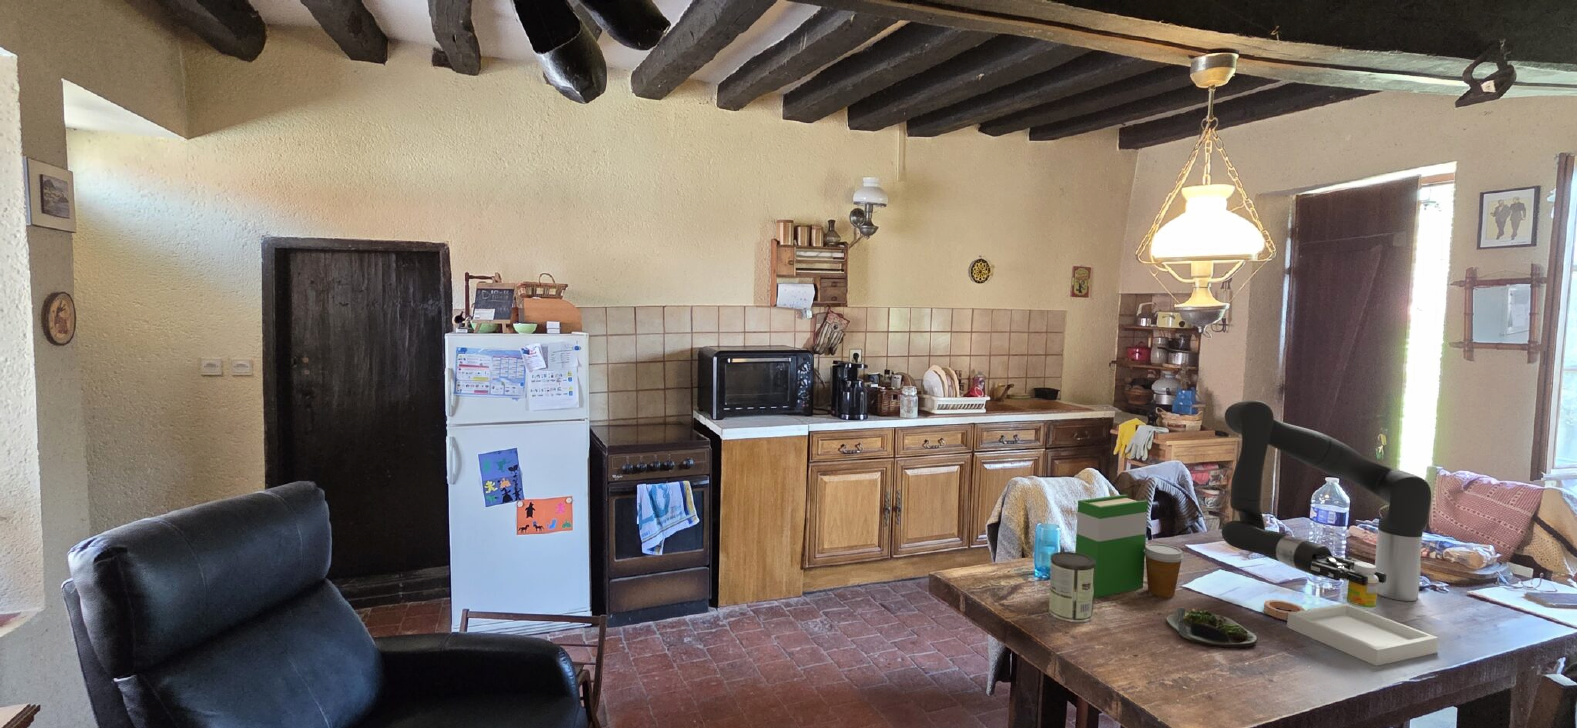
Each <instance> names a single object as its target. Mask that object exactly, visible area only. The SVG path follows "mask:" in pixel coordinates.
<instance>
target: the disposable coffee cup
mask: <svg viewBox="0 0 1577 728" xmlns="http://www.w3.org/2000/svg"><path fill="white" fill-rule="evenodd" d="M1144 553H1145V566H1146V567H1145V568H1146V582H1147V591H1148V593H1150V594H1151V595H1154V596H1156V597H1160V598H1172V597H1175V593H1176V589H1177V584H1178V578H1179V575H1180V574H1179V573H1180V570H1181V569H1180V568H1181V564H1182V561H1183V559H1184V558H1185V557H1184V556H1185V555H1184V554H1183V551H1182V549H1180V548H1178V547H1175V546H1172V545H1170V544H1163V543H1162V544H1161V543H1149V544H1146V545H1145V549H1144Z"/></svg>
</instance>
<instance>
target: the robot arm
mask: <svg viewBox="0 0 1577 728" xmlns="http://www.w3.org/2000/svg"><path fill="white" fill-rule="evenodd" d="M1274 416H1275V415H1274V412H1273V410H1272V408H1271V406H1269V405H1268V403H1266V402H1264V401H1261V400H1256V399H1255V400H1245V401H1239V402H1236V403H1233V404H1231V405H1229V406H1228V408H1227V409H1226V410H1225V412H1224V420H1225V423H1226V426H1227V427H1228V428H1229V429H1230V430H1231V431H1233V432H1234V433H1236V434H1238V435H1241V447H1240V448H1241V449H1240V454H1239V457H1238V460H1237V463H1236V464H1235V467H1234V470H1233V472H1232V473H1233V474H1232V476H1231V481H1230V482H1231V484H1230V494H1229V495H1230V497H1229V498H1230V499H1229V504H1230V508H1231V509H1232V510H1233V511H1236V512H1237V513H1238V516H1239V520H1230V521H1227V522H1226V523H1225V524H1223V526H1222V528H1221V536H1222V539H1223V540H1224V542H1225V543H1226V544H1228V545H1229V546H1231V547H1233V548H1236V549H1239V550H1241V551H1242V550H1243V551H1245V552H1246V551H1247V552H1249V553H1255V554H1258V555H1260V556H1261V555H1262V556H1265V557H1267V558H1269V559H1272V560H1273V561H1274V560H1275V561H1277V562H1280V563H1282V564H1284V565H1285V566H1289V567H1291V568H1294V569H1296V570H1299V571H1302V572H1304V573H1308V574H1310V575H1312V576H1316V577H1320V576H1321V577H1324V578H1326V579H1327V578H1328V579H1331V580H1335V581H1340V580H1341V581H1342V580H1343V581H1346V582H1347V581H1348V582H1349V581H1352V582H1354V583H1357V584H1360V585H1363V586H1365V585H1367V584H1368V577H1367V576H1365V575H1362V574H1359V573H1356V572H1353V571H1355V569H1354V563H1355V562H1363V561H1362V560H1360V559H1356V558H1354V557H1353V556H1348V557H1347V558H1344V557H1343V556H1338V555H1334V556H1333V554H1332V553H1331V550H1330V548H1328V547H1327V546H1325V545H1322V544H1320V543H1317V542H1313V541H1310V540H1307V539H1303V538H1301V537H1297V536H1292V535H1288V534H1285V533H1282V532H1279V531H1275V530H1270V529H1266V527H1265V521H1264V517H1263V512H1262V510H1261V503H1262V502H1261V500H1262V484H1263V474H1264V467H1265V460H1266V456H1267V452H1268V451H1267V450H1268V446H1271V447H1273V448H1274V449H1277V450H1279V451H1280V452H1282V453H1284V454H1286V455H1287V456H1289V457H1292V458H1293V459H1296V460H1297V461H1300V462H1302V463H1304V464H1305V465H1308V466H1310V467H1312V468H1314V469H1316V470H1319V471H1320V472H1322V473H1325V474H1328V475H1330V476H1333V477H1337V478H1339V479H1343V480H1346V481H1350V482H1352V483H1354V484H1356V485H1358V486H1360V487H1362V488H1363V489H1365V490H1366V491H1369V492H1371V494H1372V493H1373V494H1374V495H1375V496H1377V497H1378V498H1379V499H1381V500H1383V501H1384V502H1387V503H1388V511H1387V515H1386V516H1384V517H1381V518H1379V520H1378V523H1377V524H1378V525H1377V536H1376V547H1375V562H1374V565H1375V566H1376V572H1375V573H1374V575H1376V576H1377V577H1378V579H1379V582H1378V592H1377V595H1379V596H1381V597H1385V598H1388V599H1392V600H1395V601H1397V600H1398V601H1403V602H1414V601H1416V600H1417V599H1418V598H1419V594H1420V593H1419V592H1420V582H1421V568H1422V562H1421V557H1422V555H1421V554H1422V543H1423V542H1422V541H1423V533H1424V530H1425V528H1426V527H1427V524H1428V523H1429V522H1428V521H1429V516H1430V508H1431V503H1432V502H1431V501H1432V490H1431V487H1430V484H1429V483H1428V481H1426V480H1425V479H1424V478H1422V477H1420V476H1419V475H1418V476H1417V475H1415V474H1412V473H1409V472H1407V471H1403V470H1400V469H1397V468H1392V467H1390V466H1387V465H1383V464H1381V463H1379V462H1376V461H1373V460H1371V459H1369V458H1367V457H1365V456H1363V455H1362V454H1361V453H1359V452H1358V451H1357V450H1355V449H1354V448H1352V446H1351V447H1350V446H1349V445H1348V444H1345V443H1343V442H1342V441H1340V440H1338V439H1336V438H1334V437H1331V436H1329V435H1327V434H1325V433H1322V432H1320V431H1316V430H1313V429H1309V428H1306V427H1302V426H1297V425H1293V424H1290V423H1286V422H1284V421H1281V420H1278V419H1277V418H1275V417H1274Z"/></svg>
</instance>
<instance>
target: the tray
mask: <svg viewBox="0 0 1577 728" xmlns="http://www.w3.org/2000/svg"><path fill="white" fill-rule="evenodd" d="M1291 612H1292V611H1291ZM1286 621H1287V622H1286V628H1288V629H1290V630H1292V631H1295V632H1297V633H1299V634H1302V635H1304V636H1306V637H1308V638H1311V639H1313V640H1315V641H1317V642H1320V643H1323V644H1325V645H1327V646H1330V647H1332V648H1334V649H1336V650H1339V651H1341V652H1344V653H1346V654H1348V655H1350V656H1353V657H1355V658H1357V659H1359V660H1362V661H1363V662H1366V663H1369V664H1371V663H1372V664H1371V665H1373V666H1376V667H1377V666H1382V665H1387V664H1391V663H1395V662H1401V661H1405V660H1411V659H1415V658H1419V657H1424V656H1429V655H1434V654H1437V653H1438V652H1439V651H1438V649H1439V637H1438V636H1435V635H1433V634H1429V633H1427V632H1425V631H1422V630H1419V629H1416V628H1414V627H1411V626H1408V625H1406V624H1404V623H1400V622H1397V621H1396V620H1392V619H1390V618H1387V617H1385V616H1381V615H1379V614H1376V613H1373V612H1371V611H1368V610H1365V609H1360V608H1357V607H1354V606H1351V605H1349V604H1348V603H1347V602H1345V603H1340V604H1333V605H1327V606H1324V607H1323V606H1322V607H1316V608H1310V609H1305V610H1303V611H1297V612H1292V613H1288V620H1286ZM1433 653H1434V654H1433ZM1386 663H1387V664H1386Z"/></svg>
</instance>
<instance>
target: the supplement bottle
mask: <svg viewBox="0 0 1577 728" xmlns="http://www.w3.org/2000/svg"><path fill="white" fill-rule="evenodd" d="M1354 569H1355V571H1353V572H1356V573H1359V574H1362V575H1365V576H1367V577H1368V584H1367V585H1365V586H1363V585H1360V584H1357V583H1354V582H1352V581H1349V580H1348V583H1347V584H1348V585H1347V595H1346V603H1347V604H1349V605H1351V606H1354V607H1357V608H1360V609H1363V610H1366V611H1368V610H1369V611H1373V610H1375V609H1376V607H1377V601H1378V600H1377V599H1378V594H1377V592H1378V582H1379V579H1378V577H1377V576H1376V575H1374V573H1375V572H1376V566H1375V564H1372V563H1369V562H1365V561H1362V562H1355V563H1354Z"/></svg>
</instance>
